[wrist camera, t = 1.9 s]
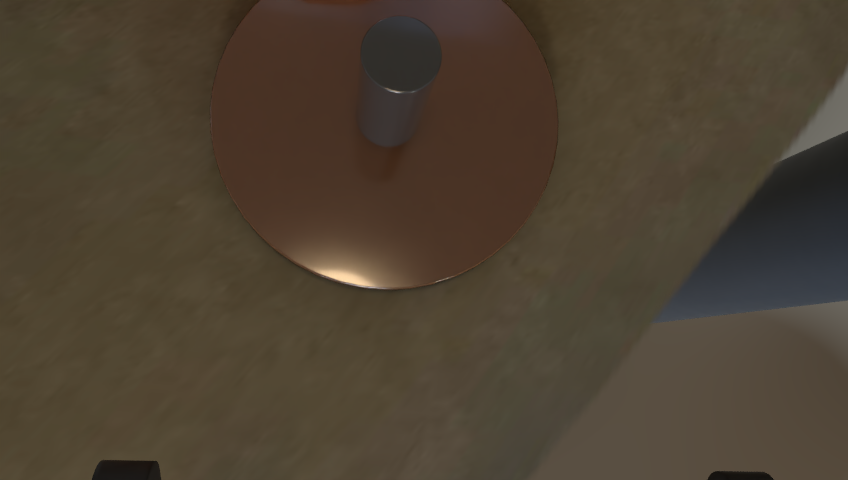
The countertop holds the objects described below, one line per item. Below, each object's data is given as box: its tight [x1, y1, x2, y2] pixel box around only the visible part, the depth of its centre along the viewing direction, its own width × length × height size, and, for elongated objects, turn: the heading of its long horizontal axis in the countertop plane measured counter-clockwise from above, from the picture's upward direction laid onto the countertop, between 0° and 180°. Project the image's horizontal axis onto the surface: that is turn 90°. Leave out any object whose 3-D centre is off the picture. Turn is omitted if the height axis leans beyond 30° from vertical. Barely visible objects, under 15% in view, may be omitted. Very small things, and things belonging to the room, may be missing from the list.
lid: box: [210, 0, 558, 290], centre depth 29 cm, size 14×14×8 cm
